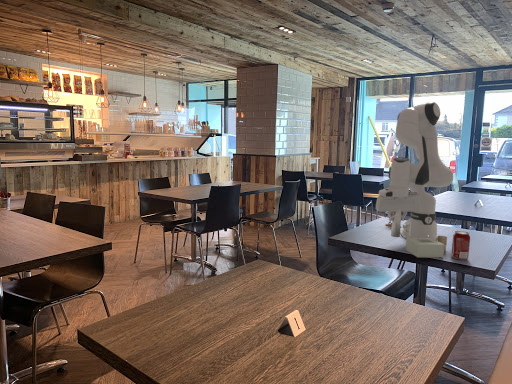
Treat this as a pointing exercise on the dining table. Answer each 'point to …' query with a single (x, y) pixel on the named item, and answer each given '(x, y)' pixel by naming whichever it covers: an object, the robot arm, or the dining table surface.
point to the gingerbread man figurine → (390, 223)
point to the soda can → (460, 245)
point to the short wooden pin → (443, 241)
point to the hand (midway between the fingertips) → (396, 220)
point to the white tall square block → (396, 223)
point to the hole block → (424, 247)
